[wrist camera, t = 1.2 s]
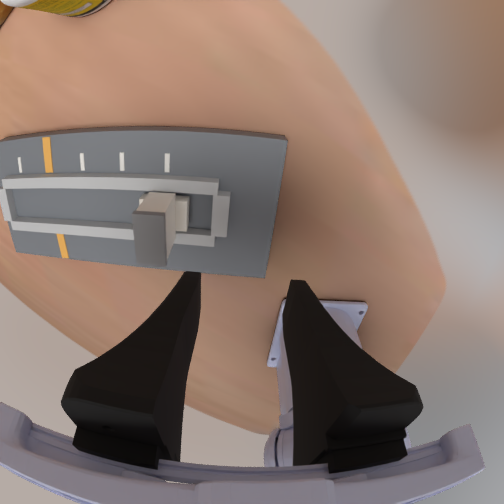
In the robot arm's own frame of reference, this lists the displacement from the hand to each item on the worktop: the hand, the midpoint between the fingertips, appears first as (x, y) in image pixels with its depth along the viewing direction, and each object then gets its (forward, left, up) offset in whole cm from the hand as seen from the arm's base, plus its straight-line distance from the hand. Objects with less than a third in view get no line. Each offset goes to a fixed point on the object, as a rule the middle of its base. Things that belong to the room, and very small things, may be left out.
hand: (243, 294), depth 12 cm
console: (0, +9, -9) cm, 13 cm away
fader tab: (0, +5, -8) cm, 9 cm away
